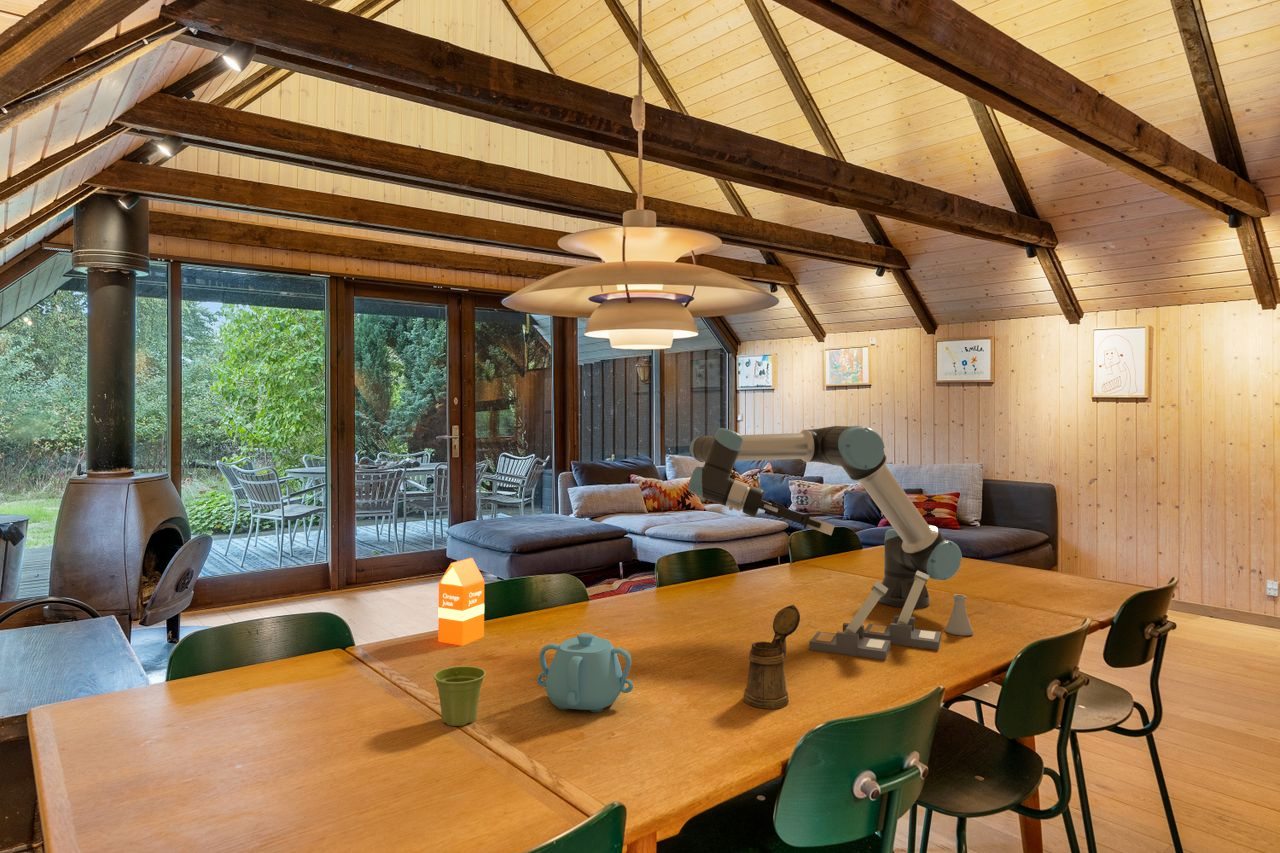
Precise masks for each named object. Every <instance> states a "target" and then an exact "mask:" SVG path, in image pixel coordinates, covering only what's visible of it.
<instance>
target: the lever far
mask: <svg viewBox="0 0 1280 853" xmlns="http://www.w3.org/2000/svg"><path fill="white" fill-rule="evenodd" d="M929 576H930V575H927V574H925V573H923V572H920V571H918V570H917V572H916V574H915V576H914V579H915V581H914V583H913V586H912V588H911V590H910V593H909V595H908V598H907V600H906V602H905V605H904V607H902V609H901V612H900V615H899V616H900V617H899V619H898V621H897V624H905V625H907V624H908V622H909V619H910V617H912V614H913V612H914V610H915V608H914V607H915V605H916V603H917V600H918V598H919V596H920V593H921V591H922V588H923V586H924V584H925V585H927V583H928V581H929Z"/></svg>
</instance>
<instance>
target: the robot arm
mask: <svg viewBox="0 0 1280 853" xmlns="http://www.w3.org/2000/svg"><path fill="white" fill-rule="evenodd" d="M689 453H690V455H691V457H692V458H693V459H694V460H695V461H697V462H699V463H704V465H703V466H695V467H694V469H693V472H692V474H691V476H690V479H689V481H688V488H687V489H688V491H689V493H691V494H693V495H695V496H697V497H700V498H702V499H705V500H707V501H709V502H713V503H716V504H718V505H721V506H724V507H726V508H727V507H728V510H729V511H733V510H735V511H738V512H740V511H742V514H745V515H749V516H751V517H754V518H755V517H756V516H757V514H758V512H759V509H760V510H763V511H764V514H765V515H767V516H772V517H776V518H778V519H781V518H783V519H786V520H788V521H791V522H794V523H796V524H799V525H801V526H803V529H805V530H806V529H807V528H810V529H812V530H815V531H818V532H821V533H823V534H826V535H829V536H832V534H833V532H834V529H835V527H836V525H834V524H831V523H828V522H826V521H824V520H820V519H818V518H815V517H812V516H811V513H808V514H802V513H800V512H797V511H795V510H792V509H789V508H787V507H785V505H784V504H781V503H778V502H776V501H775V500H772V499H768V501H766V500H763V498H764V494H765V490H764V489H762V488H759V487H756V486H754V485H753V486H752V485H751V487H750V484H748V483H745V482H742V481H741V480H738V479H734V478H731V475H732V471H733V468H734V466H735V464H736V462H746V461H747V462H749V461H774V460H777V461H778V460H800V459H801V461H803V462H804V463H811V462H813V463H822V464H827V465H833V466H837V467H838V466H839V467H841V468H843V470H844V471H845V473H846V474H847V476H849V478H850V479H851V480H852V481H855V482H860V484H861V485H862V487H863V488H864V490H865V491H866V493H868V495H869V497H870V498H871V500H872V501H873V502H874V503H875V505H876V506H877V507H878V509H879V510H880V511H881V513H882V514H883V515H884V517H885V518H886V520H887V521H888V522H889V524H890V525H891V526H892V528H889V529H887V530H886V531H885V534H884V541H883V543H884V566H883V567H884V574H883V579H882V582H881V584H882V585H884V586H885V587H887V588H888V590H887V592H886V594H885V595H884V597H883V598H882V597H881V598H880V599H879V601H878V603H881V604H884V605H887V606H889V607H890V606H891V607H897V608H903V607H904V605H905V602H906V600H907V598H908V595H909V593H910V590H911V588H912V586H913V583H914V581H915V579H914V576H915V574H916V572H917V570H918V571H920V572H923V573H925V574H927V575H930V576H929V578H930V579H932V580H938V581H947V580H950V579H952V578H953V577H955V575H956V574H957V573H958V572H959V571H960V567H961V565H962V564H961V563H962V559H963V555H962V551H961V549H960V547H959V545H958V544H957V543H955V542H954V541H951V540H947V539H946V538H945V537H944V535H943V533H942V532H940V530H939V529H938V527H937V526H935V525H932V524H928V522H927V520H926V519H925V518H924V516H922V514H921V513H920V511H919V509H917V507H916V506H915V504H914V503H913V501H912V500H911V499H910V497H909V496H908V495H907V493H906V492H905V490H904V489H903V488H902V486H901V485H900V483H899V482H898V481H897V479H896V478H895V476H894V475H893V474H892V472H891V471H890V469H889V467H888V466H887V465H886V463H887V459H888V458H887V455H886V454H885V443H884V440H883V439H882V436H880V434H879V433H878V432H877V431H875V430H874V429H872V428H870V427H865V426H864V425H863V426H862V425H852V426H851V425H849V426H848V425H846V426H845V425H834V426H833V425H832V426H827V427H826V426H825V427H821V428H810V429H803V430H801V431H800V432H799V433H797V432H796V433H792V432H791V433H766V434H765V433H764V434H762V433H760V434H757V433H756V434H740V433H738V432H737V431H734V430H731V429H728V428H724V427H719V428H718V429H717V431H716V432H715V434H714V435H704V434H703V435H699V436H695V437H694V438H693V439H692V440H691V442H690V444H689ZM928 591H929V590H928V589H927V584H924V586H923V588H922V591H921V593H920V596H919V598H918V600H917V603H916V605H915V607H914V609H915V608H916V609H920V608H925V607H929V606H930V595H929V592H928Z"/></svg>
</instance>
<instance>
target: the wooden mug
mask: <svg viewBox="0 0 1280 853" xmlns="http://www.w3.org/2000/svg"><path fill="white" fill-rule="evenodd" d="M800 622H801V614H800V611H799V609H798V608H797V606H796V605H795V604H791V605H787V606H785V607H783V608H782V609H780V610H778V611H777V613H776V615H774V619H773V622H772V630H773V632H774V637H773V638H772V640H771V642H768V641H755V642H753V643H751V649H750V650H749V654H748V660H749V668H748V672H747V680H746V685H745V686H746V687H745V688H744V689H745V690H744V691H743V692H744V693H743V701H744V703H746V704H748V705H749V706H752V707H755V708H759V709H766V710H767V709H769V710H773V709H775V710H776V709H781V708H784V707H786V706H787V705H788V704H789V692H788V691H787V684H786V675H785V666H784V664H785V661H786V658H787V637H788V636H790V635H791V636H792V634H794V633H795V631H796V630H797V629H798V627H799V624H800Z"/></svg>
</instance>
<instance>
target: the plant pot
mask: <svg viewBox="0 0 1280 853" xmlns="http://www.w3.org/2000/svg"><path fill="white" fill-rule="evenodd" d="M486 673H487V672H486V670H485V669H483V668H480V667H478V666H471V665H470V666H469V665H464V666H463V665H460V666H459V665H458V666H457V665H456V666H451V667H446V668H442V669H440V670H438V671H435V673H434V674H433V680H434V681H435V683H436V687H437V690H438V695H439V702H440V710H441V718H442V719H441V720H442V723H445V724H446V725H448V726H451V727H455V726H456V727H457V726H459V727H462V726H466V725H467V724H469V723H475V721H476V719H477V715H478V710H479V709H478V708H479V700H480V696H481V695H480V694H481V688H482V685H483V682H484V681H483V680H484V678H485V677H486V675H487V674H486Z"/></svg>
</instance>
